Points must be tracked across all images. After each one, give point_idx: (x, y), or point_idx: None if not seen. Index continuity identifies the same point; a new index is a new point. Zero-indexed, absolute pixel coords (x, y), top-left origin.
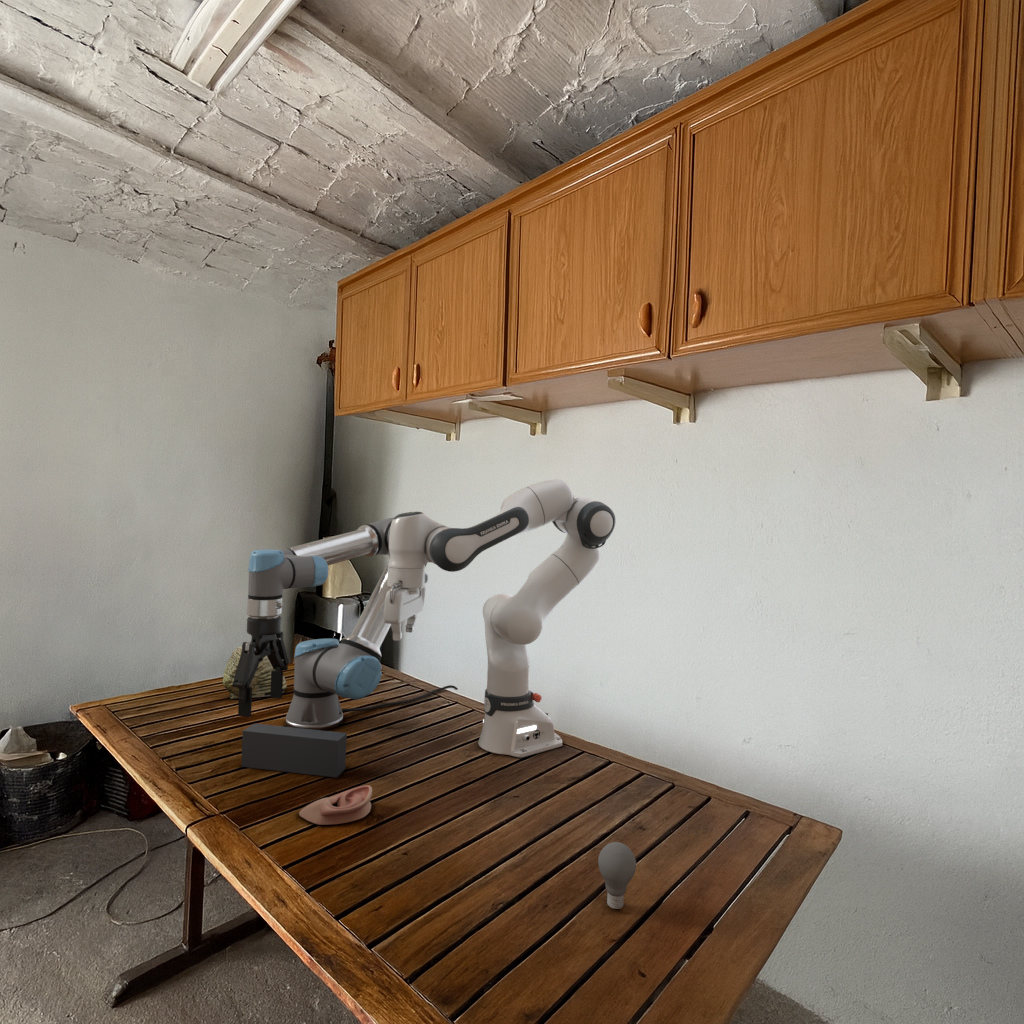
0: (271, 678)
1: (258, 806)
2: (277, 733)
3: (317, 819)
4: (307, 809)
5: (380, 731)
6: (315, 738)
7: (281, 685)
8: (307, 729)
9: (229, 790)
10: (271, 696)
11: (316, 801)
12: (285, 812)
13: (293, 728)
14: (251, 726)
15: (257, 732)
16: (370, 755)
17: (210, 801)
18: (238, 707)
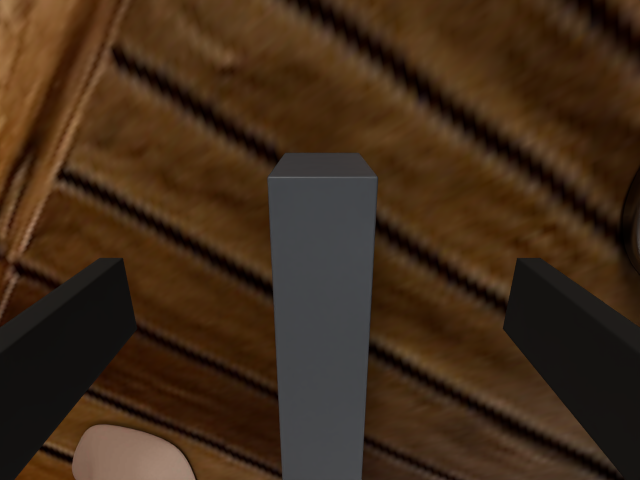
0: (632, 351)
1: None
2: (283, 337)
3: (75, 473)
4: (90, 451)
5: None
6: (282, 467)
7: (565, 395)
8: (359, 415)
9: (128, 213)
10: (519, 270)
11: (130, 454)
12: (93, 394)
13: (355, 367)
14: (331, 187)
15: (271, 253)
16: (445, 446)
17: (49, 202)
18: (62, 285)
